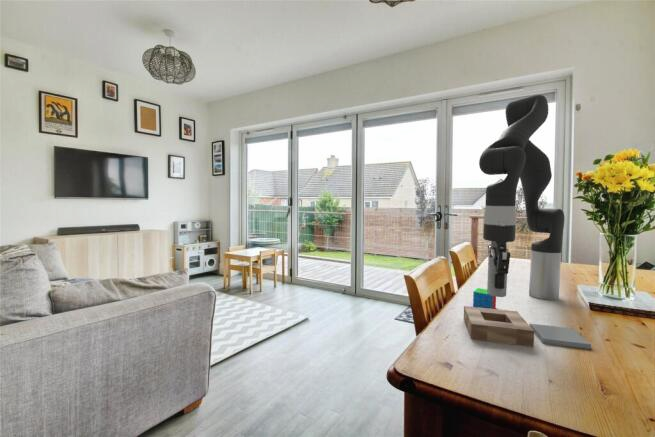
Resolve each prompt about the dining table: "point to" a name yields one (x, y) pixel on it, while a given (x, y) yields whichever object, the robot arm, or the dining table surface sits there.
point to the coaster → (560, 336)
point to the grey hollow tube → (491, 277)
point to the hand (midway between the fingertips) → (496, 285)
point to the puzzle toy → (483, 299)
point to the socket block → (498, 326)
